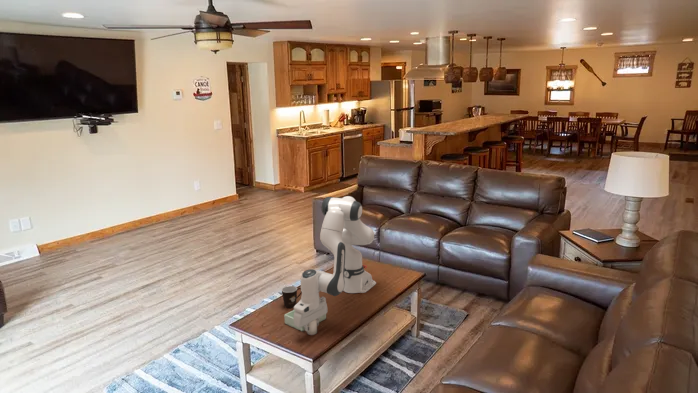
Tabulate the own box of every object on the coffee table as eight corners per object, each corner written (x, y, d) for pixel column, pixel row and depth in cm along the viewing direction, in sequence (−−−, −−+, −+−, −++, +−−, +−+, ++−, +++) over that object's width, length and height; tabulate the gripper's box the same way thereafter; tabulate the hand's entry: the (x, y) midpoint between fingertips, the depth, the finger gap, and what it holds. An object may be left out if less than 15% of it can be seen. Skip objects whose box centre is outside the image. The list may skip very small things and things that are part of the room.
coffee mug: (283, 310, 263) (282, 293, 260) (282, 303, 271) (281, 286, 269) (304, 307, 265) (303, 291, 262) (302, 300, 273) (301, 284, 271)
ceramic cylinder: (312, 328, 242) (311, 316, 240) (319, 331, 239) (318, 319, 237) (304, 332, 238) (304, 319, 237) (311, 336, 235) (311, 323, 234)
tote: (308, 311, 261) (308, 302, 259) (326, 318, 252) (325, 309, 251) (284, 323, 248) (284, 314, 247) (302, 331, 240) (301, 322, 238)
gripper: (320, 293, 244) (321, 318, 248) (290, 308, 230) (292, 334, 233) (329, 297, 240) (330, 322, 244) (299, 312, 225) (301, 338, 229)
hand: (311, 328), depth 238 cm, fingers closed on ceramic cylinder, 5 cm apart
